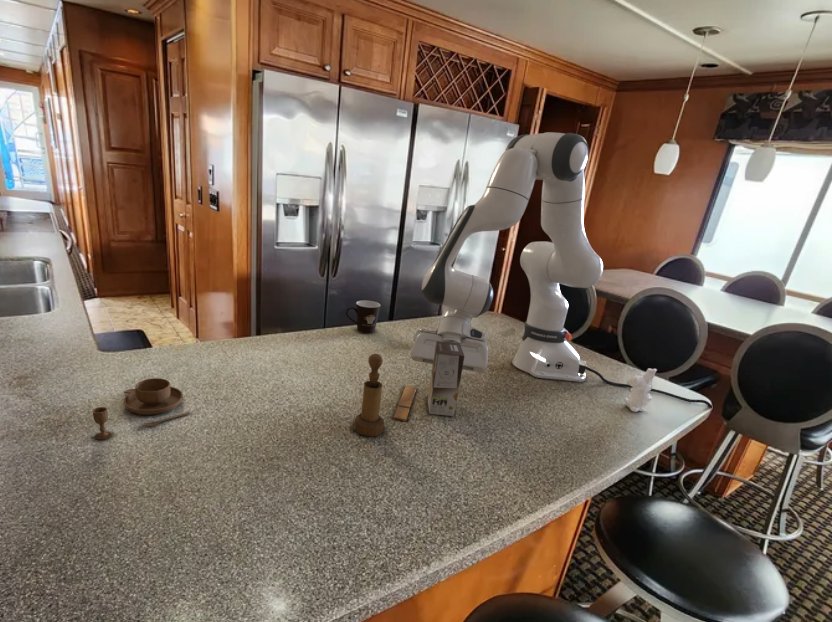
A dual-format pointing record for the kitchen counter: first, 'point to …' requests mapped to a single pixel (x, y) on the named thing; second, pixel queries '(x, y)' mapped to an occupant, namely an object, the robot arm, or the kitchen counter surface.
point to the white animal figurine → (640, 390)
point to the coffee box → (445, 378)
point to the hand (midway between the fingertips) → (444, 380)
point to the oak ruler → (405, 403)
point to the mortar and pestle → (371, 402)
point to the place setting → (144, 402)
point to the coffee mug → (366, 316)
